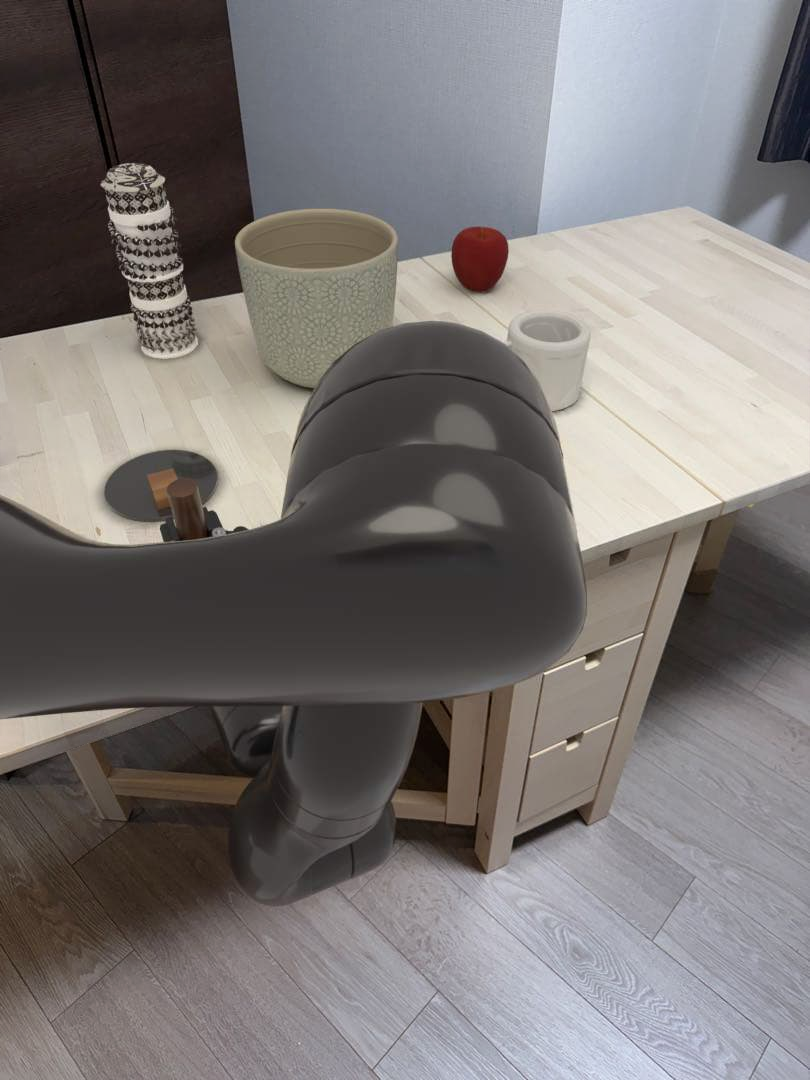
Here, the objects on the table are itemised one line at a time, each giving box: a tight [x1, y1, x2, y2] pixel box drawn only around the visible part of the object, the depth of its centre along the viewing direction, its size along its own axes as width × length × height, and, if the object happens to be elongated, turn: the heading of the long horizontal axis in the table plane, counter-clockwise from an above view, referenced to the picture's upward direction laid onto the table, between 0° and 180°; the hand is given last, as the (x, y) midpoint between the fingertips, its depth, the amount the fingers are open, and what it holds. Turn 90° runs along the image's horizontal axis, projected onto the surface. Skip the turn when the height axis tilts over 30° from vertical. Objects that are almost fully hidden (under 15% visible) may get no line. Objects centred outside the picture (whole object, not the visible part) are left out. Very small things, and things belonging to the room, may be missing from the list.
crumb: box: [147, 468, 178, 510], centre depth 84 cm, size 3×3×3 cm
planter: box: [234, 208, 399, 389], centre depth 102 cm, size 21×21×19 cm
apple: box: [450, 226, 510, 293], centre depth 125 cm, size 10×10×10 cm
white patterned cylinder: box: [100, 162, 199, 360], centre depth 104 cm, size 9×9×25 cm
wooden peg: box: [167, 478, 209, 541], centre depth 69 cm, size 4×7×14 cm, turn 116°
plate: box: [103, 449, 219, 523], centre depth 88 cm, size 13×13×1 cm
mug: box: [502, 309, 592, 412], centre depth 100 cm, size 14×11×10 cm
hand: (186, 519), depth 70 cm, fingers closed on wooden peg, 2 cm apart
